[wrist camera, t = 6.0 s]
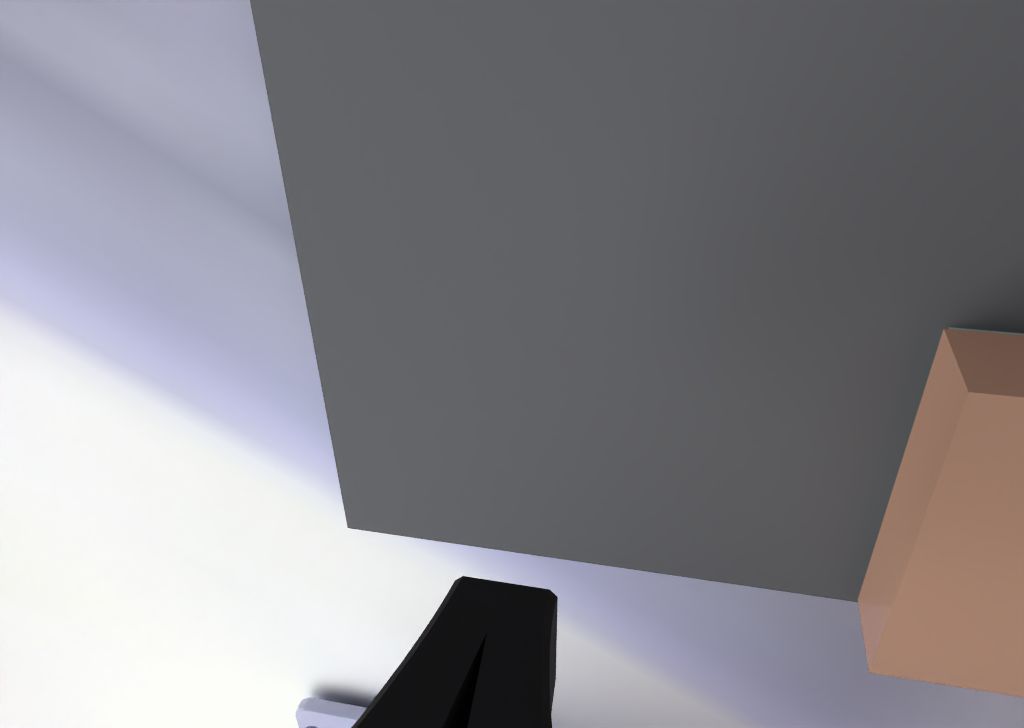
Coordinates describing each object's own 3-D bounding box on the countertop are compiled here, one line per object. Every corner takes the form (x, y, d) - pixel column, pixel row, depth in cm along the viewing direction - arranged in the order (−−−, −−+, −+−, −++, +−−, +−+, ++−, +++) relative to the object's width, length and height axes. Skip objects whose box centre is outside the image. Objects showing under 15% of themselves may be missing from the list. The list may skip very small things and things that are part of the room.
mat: (1226, 639, 15) (1236, 657, 15) (354, 514, 19) (347, 527, 18) (1760, -105, 9) (1799, -101, 8) (245, -103, 12) (231, -100, 11)
